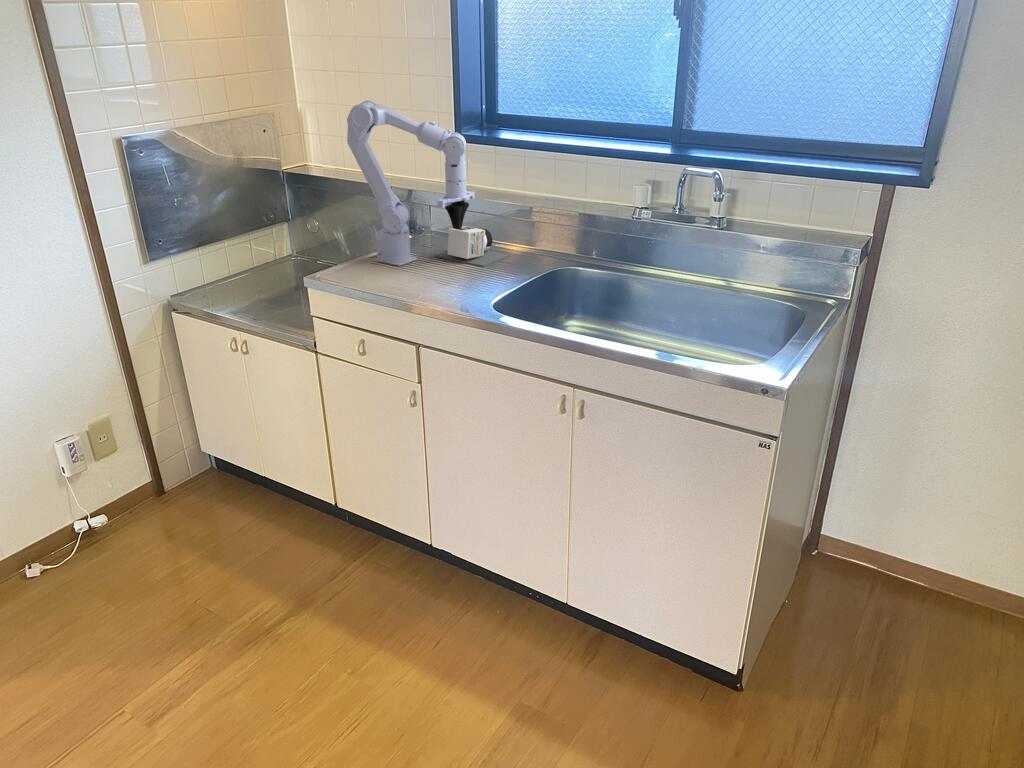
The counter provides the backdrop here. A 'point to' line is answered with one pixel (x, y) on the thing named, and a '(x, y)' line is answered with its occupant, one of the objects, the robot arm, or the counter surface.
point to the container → (468, 242)
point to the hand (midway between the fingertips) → (457, 228)
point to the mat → (481, 261)
